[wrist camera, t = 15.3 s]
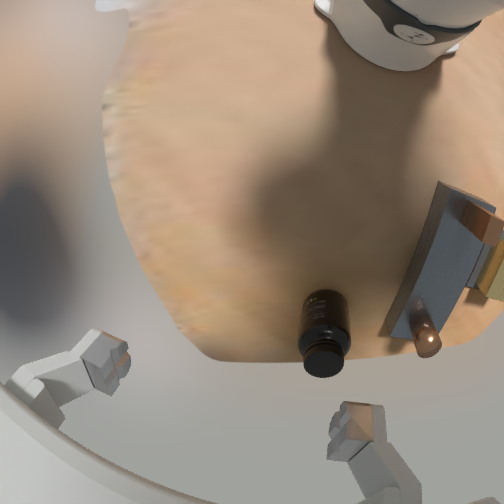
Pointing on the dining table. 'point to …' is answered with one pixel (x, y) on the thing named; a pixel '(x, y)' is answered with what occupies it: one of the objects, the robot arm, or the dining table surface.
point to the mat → (479, 264)
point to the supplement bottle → (324, 333)
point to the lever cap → (493, 273)
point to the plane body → (442, 266)
